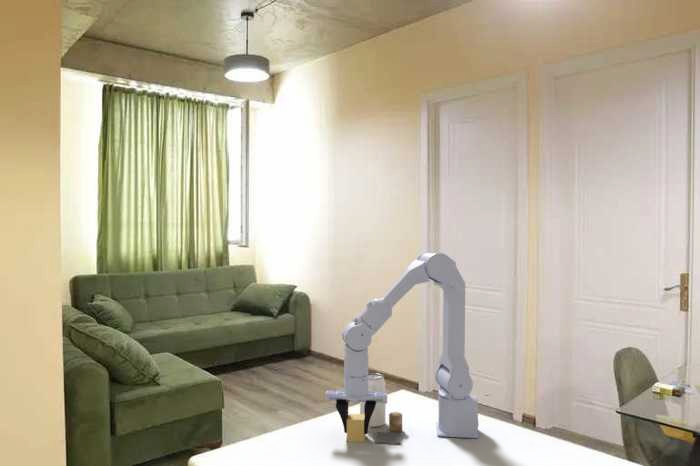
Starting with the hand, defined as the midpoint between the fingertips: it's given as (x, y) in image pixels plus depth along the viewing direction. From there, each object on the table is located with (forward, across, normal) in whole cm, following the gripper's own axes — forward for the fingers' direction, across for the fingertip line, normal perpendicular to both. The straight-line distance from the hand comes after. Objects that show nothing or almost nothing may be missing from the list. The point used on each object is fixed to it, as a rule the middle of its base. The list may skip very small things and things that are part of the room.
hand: (356, 432), depth 125 cm
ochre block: (+1, 0, 0) cm, 1 cm away
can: (+2, +3, +10) cm, 11 cm away
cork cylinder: (+2, +9, +6) cm, 11 cm away
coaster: (+1, +8, 0) cm, 8 cm away
